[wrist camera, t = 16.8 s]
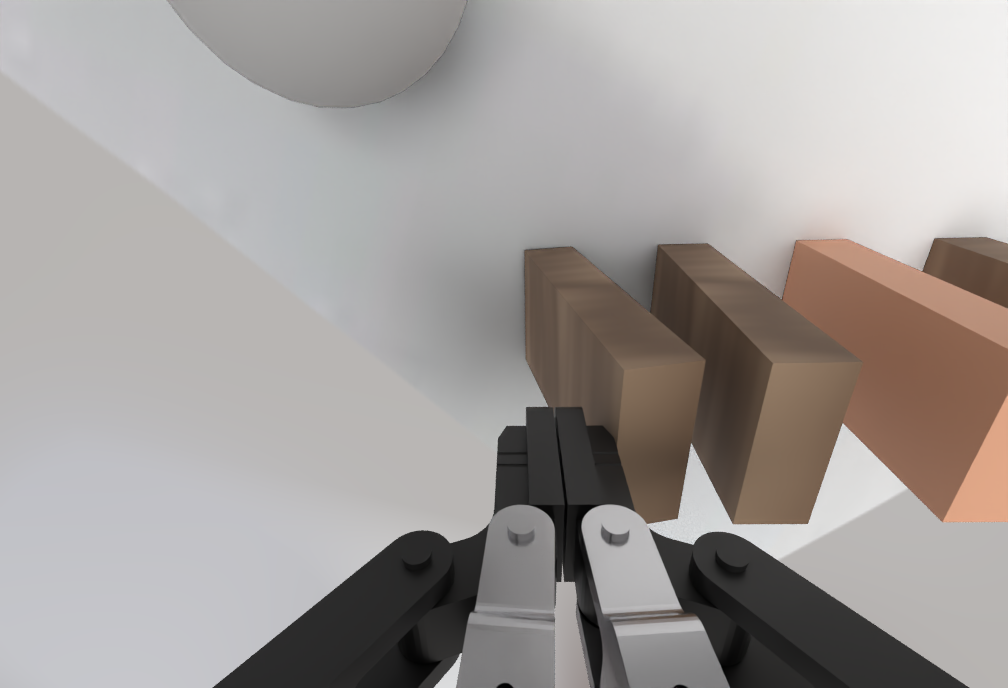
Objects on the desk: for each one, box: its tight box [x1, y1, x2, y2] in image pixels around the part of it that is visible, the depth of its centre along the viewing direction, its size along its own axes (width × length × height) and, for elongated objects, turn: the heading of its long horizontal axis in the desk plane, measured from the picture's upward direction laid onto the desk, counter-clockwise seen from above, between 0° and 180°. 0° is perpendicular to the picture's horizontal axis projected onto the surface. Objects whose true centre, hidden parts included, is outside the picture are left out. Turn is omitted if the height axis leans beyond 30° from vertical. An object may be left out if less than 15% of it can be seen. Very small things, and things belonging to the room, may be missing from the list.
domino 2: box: [650, 244, 863, 524], centre depth 17 cm, size 2×5×10 cm, turn 2°
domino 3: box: [782, 239, 1008, 522], centre depth 16 cm, size 2×5×10 cm, turn 2°
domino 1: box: [525, 247, 706, 524], centre depth 17 cm, size 2×5×10 cm, turn 2°
